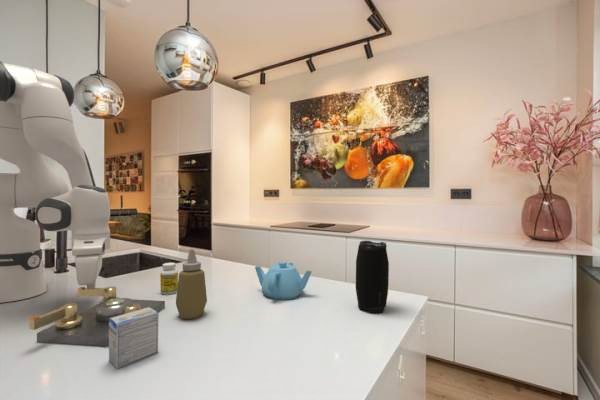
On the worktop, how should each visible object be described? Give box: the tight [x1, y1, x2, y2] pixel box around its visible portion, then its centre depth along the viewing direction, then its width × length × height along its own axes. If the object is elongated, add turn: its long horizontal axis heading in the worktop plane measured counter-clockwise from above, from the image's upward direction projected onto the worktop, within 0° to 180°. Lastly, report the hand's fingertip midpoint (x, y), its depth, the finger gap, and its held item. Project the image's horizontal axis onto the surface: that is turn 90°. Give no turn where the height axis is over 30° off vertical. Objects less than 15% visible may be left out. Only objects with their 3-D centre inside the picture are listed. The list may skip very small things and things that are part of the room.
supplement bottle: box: [160, 262, 179, 296], centre depth 99 cm, size 5×5×10 cm
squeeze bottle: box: [175, 248, 208, 320], centre depth 80 cm, size 8×8×18 cm
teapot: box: [254, 261, 313, 301], centre depth 99 cm, size 15×15×11 cm
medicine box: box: [108, 307, 160, 370], centre depth 59 cm, size 8×4×9 cm, turn 141°
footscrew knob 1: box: [28, 302, 82, 331], centre depth 66 cm, size 10×5×5 cm, turn 168°
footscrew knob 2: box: [77, 286, 120, 304], centre depth 82 cm, size 10×5×5 cm, turn 94°
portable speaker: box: [355, 240, 390, 315], centre depth 86 cm, size 9×9×20 cm
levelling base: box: [36, 297, 166, 348], centre depth 75 cm, size 17×22×6 cm
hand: (91, 292), depth 83 cm, fingers closed, pressing on footscrew knob 2
